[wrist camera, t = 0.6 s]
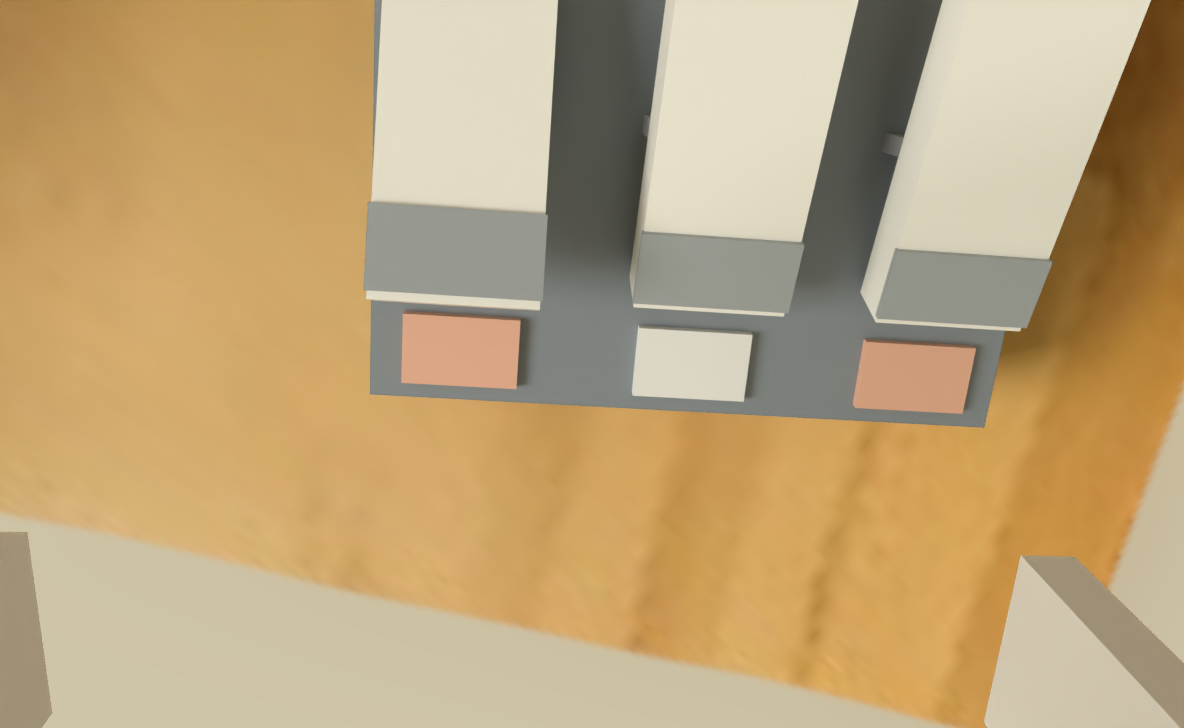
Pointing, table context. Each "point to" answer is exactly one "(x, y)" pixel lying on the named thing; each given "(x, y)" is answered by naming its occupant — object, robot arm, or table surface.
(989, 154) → the switch
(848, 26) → the switch
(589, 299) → the switch unit
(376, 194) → the switch
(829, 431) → the table surface
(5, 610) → the robot arm
